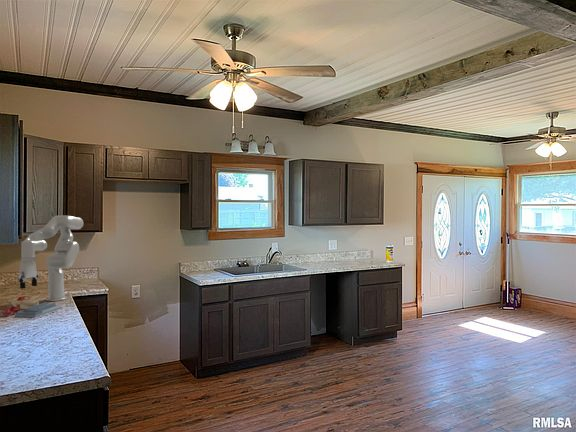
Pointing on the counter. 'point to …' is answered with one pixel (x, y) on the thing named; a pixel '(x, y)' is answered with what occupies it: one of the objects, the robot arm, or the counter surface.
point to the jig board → (38, 310)
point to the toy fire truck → (14, 309)
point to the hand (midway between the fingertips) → (28, 287)
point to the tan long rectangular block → (28, 304)
